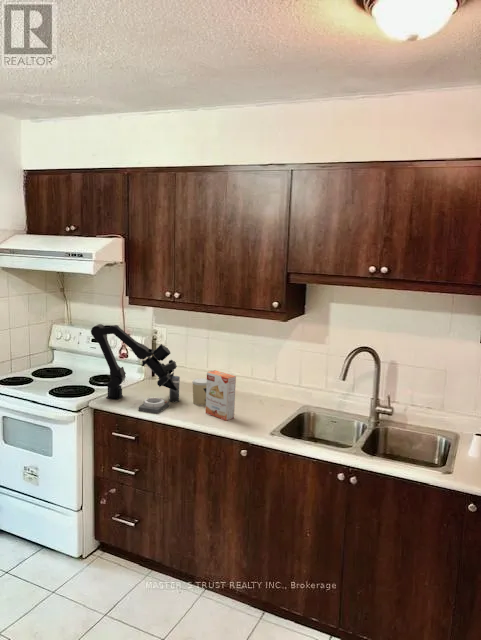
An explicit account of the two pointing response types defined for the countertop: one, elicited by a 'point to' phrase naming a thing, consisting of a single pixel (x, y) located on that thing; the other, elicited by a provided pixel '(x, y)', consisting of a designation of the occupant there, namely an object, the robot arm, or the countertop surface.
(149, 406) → the camera body
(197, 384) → the coffee cup
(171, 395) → the lens
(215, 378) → the cracker box
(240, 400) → the countertop surface
